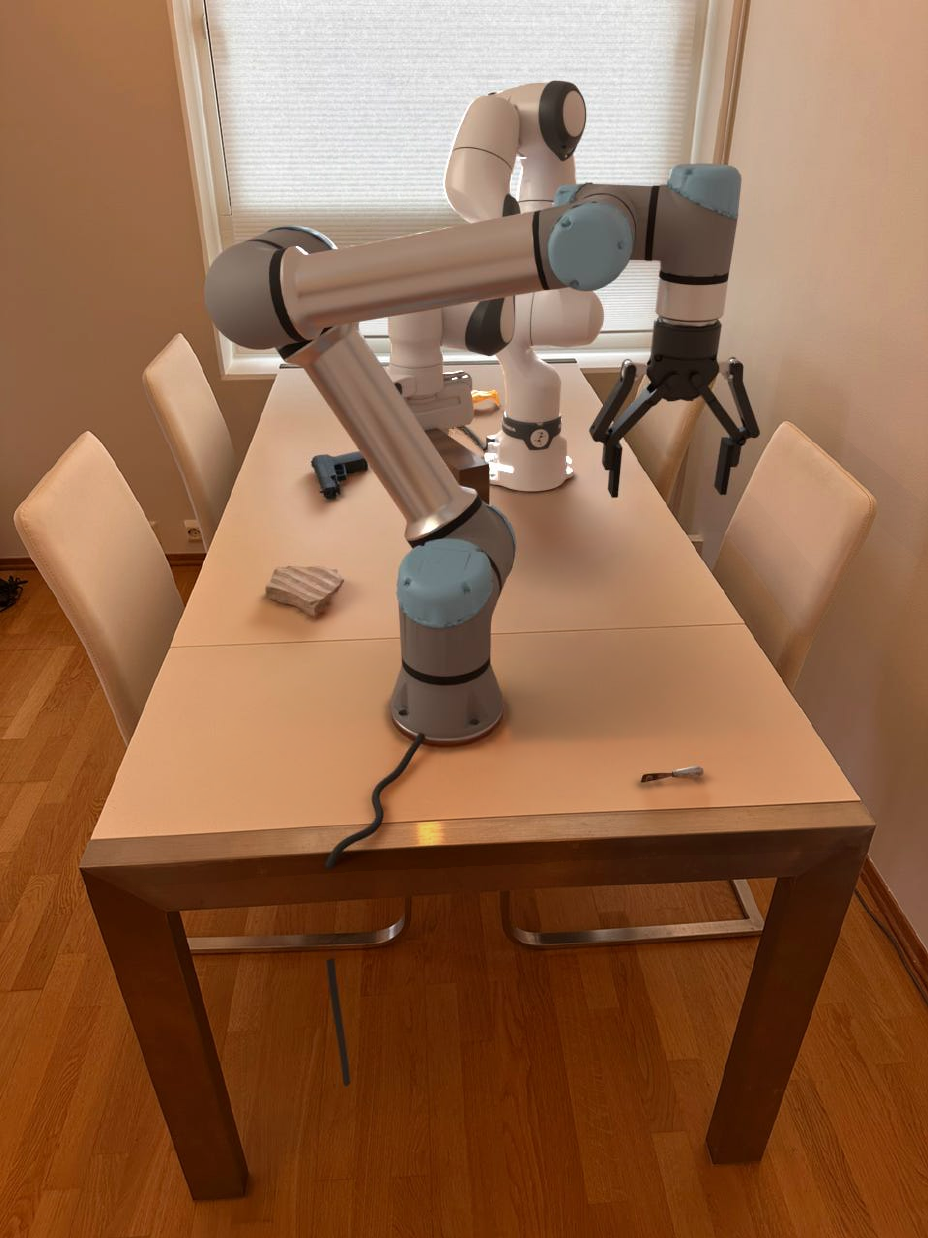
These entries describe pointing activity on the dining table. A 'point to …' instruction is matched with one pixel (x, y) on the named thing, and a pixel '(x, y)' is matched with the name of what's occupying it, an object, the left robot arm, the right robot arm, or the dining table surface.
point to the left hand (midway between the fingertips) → (666, 492)
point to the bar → (462, 463)
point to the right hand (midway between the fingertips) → (419, 456)
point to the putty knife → (674, 774)
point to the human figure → (484, 396)
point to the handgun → (336, 470)
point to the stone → (304, 587)
